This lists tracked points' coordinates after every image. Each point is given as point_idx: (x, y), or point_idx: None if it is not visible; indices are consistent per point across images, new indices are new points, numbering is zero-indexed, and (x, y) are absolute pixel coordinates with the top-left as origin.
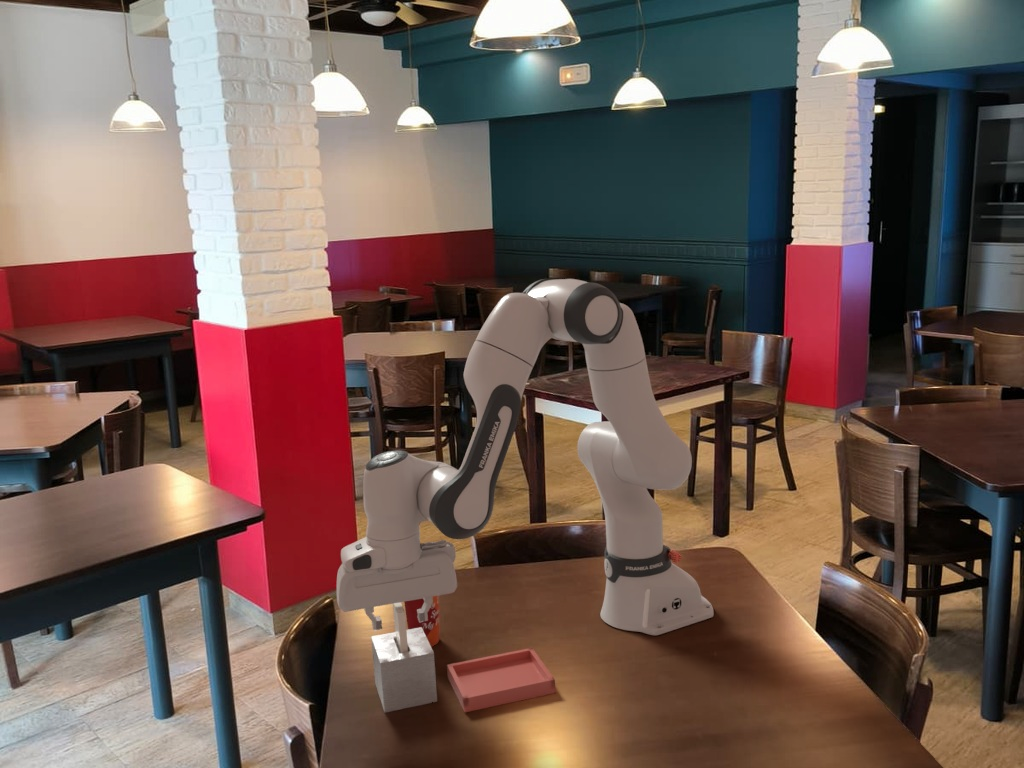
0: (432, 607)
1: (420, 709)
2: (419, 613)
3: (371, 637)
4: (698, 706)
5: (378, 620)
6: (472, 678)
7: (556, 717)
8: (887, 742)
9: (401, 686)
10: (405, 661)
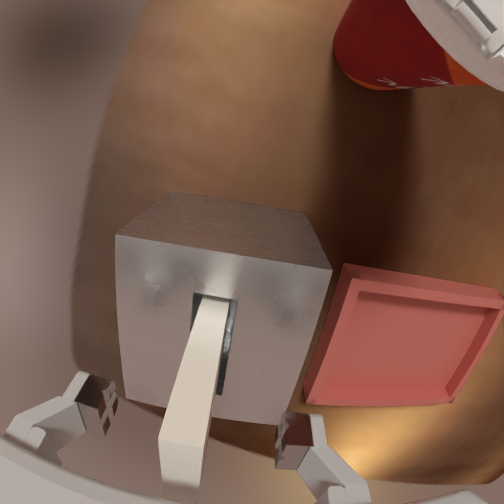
0: (450, 85)
1: None
2: (277, 468)
3: (115, 240)
4: (492, 436)
5: (92, 431)
6: (375, 319)
7: (398, 428)
8: (499, 473)
9: None
10: None
